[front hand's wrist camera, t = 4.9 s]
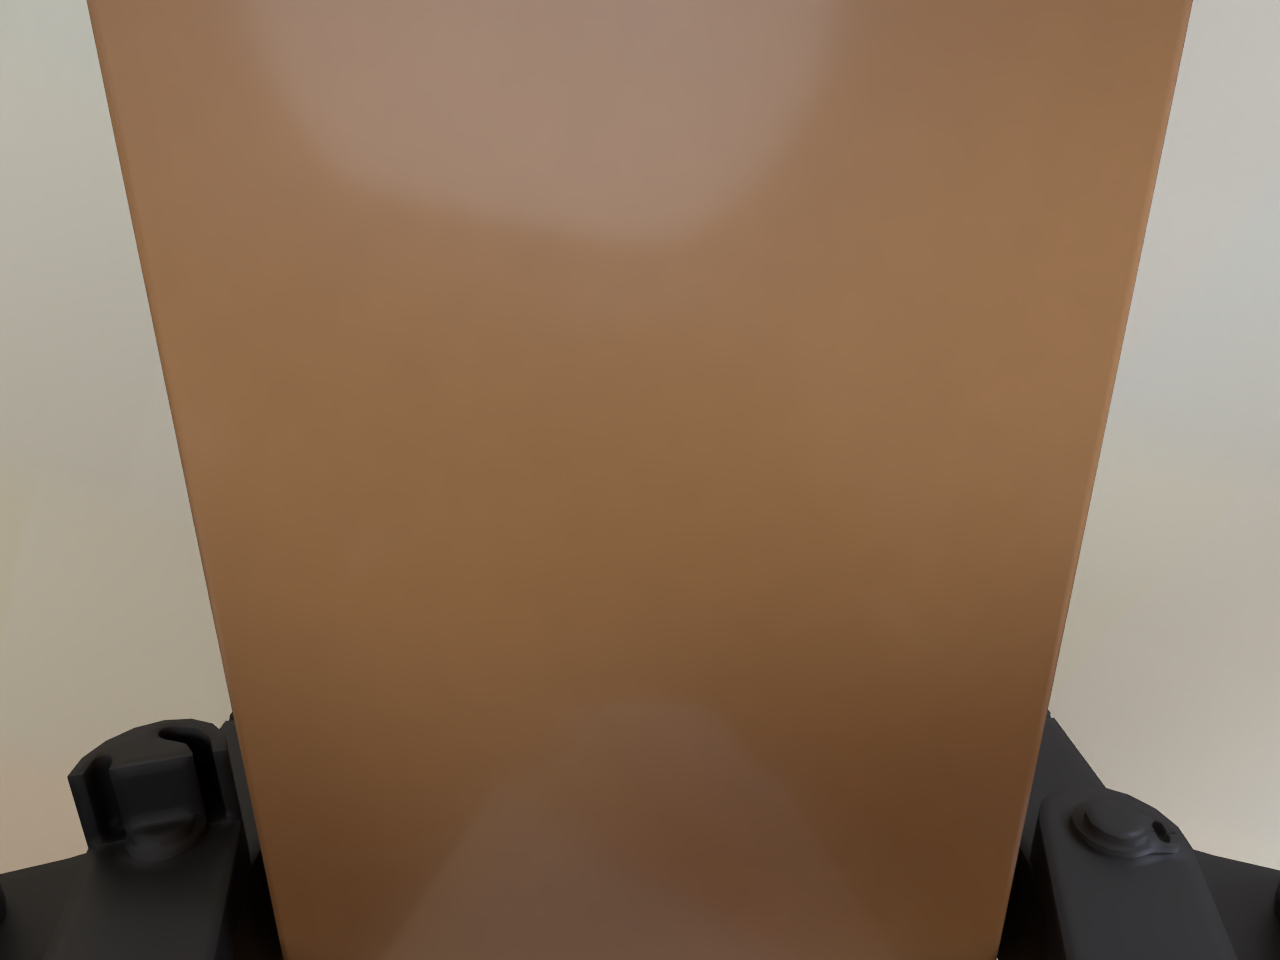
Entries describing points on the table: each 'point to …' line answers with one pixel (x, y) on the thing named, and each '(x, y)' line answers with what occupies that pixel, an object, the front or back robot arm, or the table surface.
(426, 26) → the bar
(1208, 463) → the table surface
